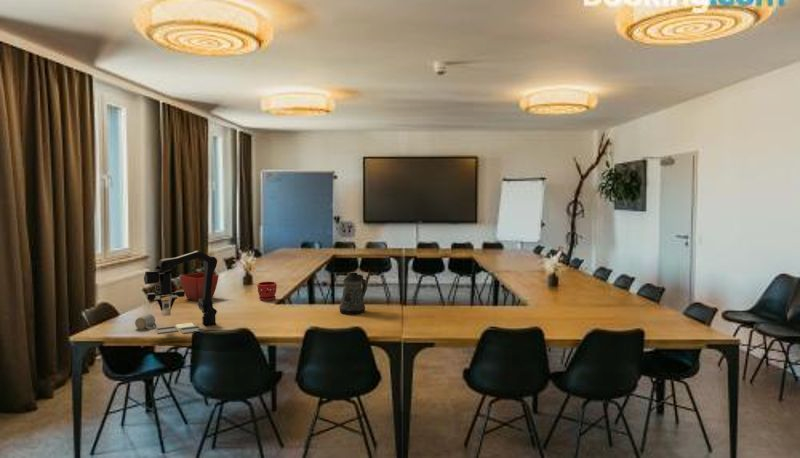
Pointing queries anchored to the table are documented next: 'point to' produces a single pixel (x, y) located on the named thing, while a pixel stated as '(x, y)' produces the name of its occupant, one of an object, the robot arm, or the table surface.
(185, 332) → the tray
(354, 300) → the beer stein
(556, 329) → the table surface
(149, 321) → the ceramic mug
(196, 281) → the plant pot
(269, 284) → the plant pot
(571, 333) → the table surface
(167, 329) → the tray
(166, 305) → the tan rectangular block
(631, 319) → the table surface
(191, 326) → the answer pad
